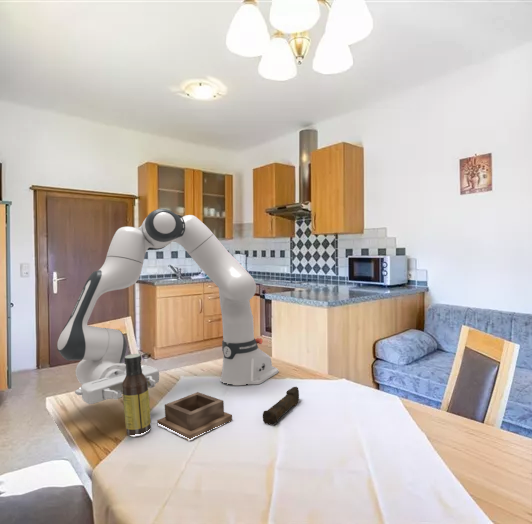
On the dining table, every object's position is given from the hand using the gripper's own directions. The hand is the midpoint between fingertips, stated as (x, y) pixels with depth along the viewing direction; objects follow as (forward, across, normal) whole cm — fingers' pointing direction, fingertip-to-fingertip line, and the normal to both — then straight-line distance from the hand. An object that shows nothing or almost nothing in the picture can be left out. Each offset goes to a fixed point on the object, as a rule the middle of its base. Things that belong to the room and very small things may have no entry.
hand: (136, 389), depth 95 cm
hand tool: (+22, +32, +12) cm, 40 cm away
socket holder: (+8, +12, +11) cm, 18 cm away
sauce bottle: (0, 0, +11) cm, 11 cm away
